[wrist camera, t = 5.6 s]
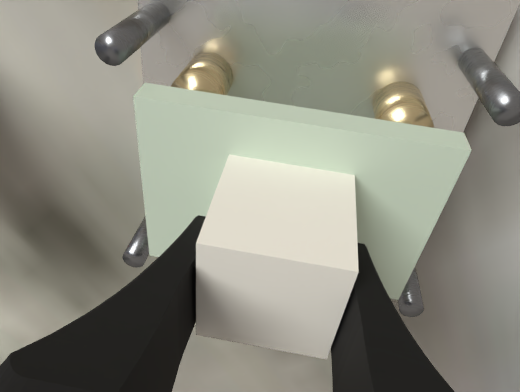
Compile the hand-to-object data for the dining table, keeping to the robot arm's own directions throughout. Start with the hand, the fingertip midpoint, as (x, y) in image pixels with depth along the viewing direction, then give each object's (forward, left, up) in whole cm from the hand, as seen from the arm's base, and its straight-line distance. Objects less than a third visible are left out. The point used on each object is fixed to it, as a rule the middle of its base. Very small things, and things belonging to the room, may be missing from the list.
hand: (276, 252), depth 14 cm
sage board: (0, +1, -3) cm, 3 cm away
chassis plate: (0, 0, -8) cm, 8 cm away
